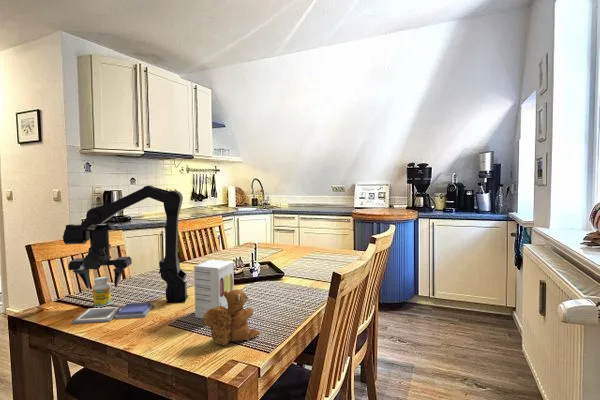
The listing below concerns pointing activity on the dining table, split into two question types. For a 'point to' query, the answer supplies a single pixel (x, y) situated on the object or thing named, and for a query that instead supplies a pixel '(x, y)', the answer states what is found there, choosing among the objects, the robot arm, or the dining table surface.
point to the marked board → (97, 315)
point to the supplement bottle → (101, 292)
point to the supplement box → (212, 285)
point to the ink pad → (134, 310)
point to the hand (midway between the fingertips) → (102, 287)
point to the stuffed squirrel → (230, 319)
